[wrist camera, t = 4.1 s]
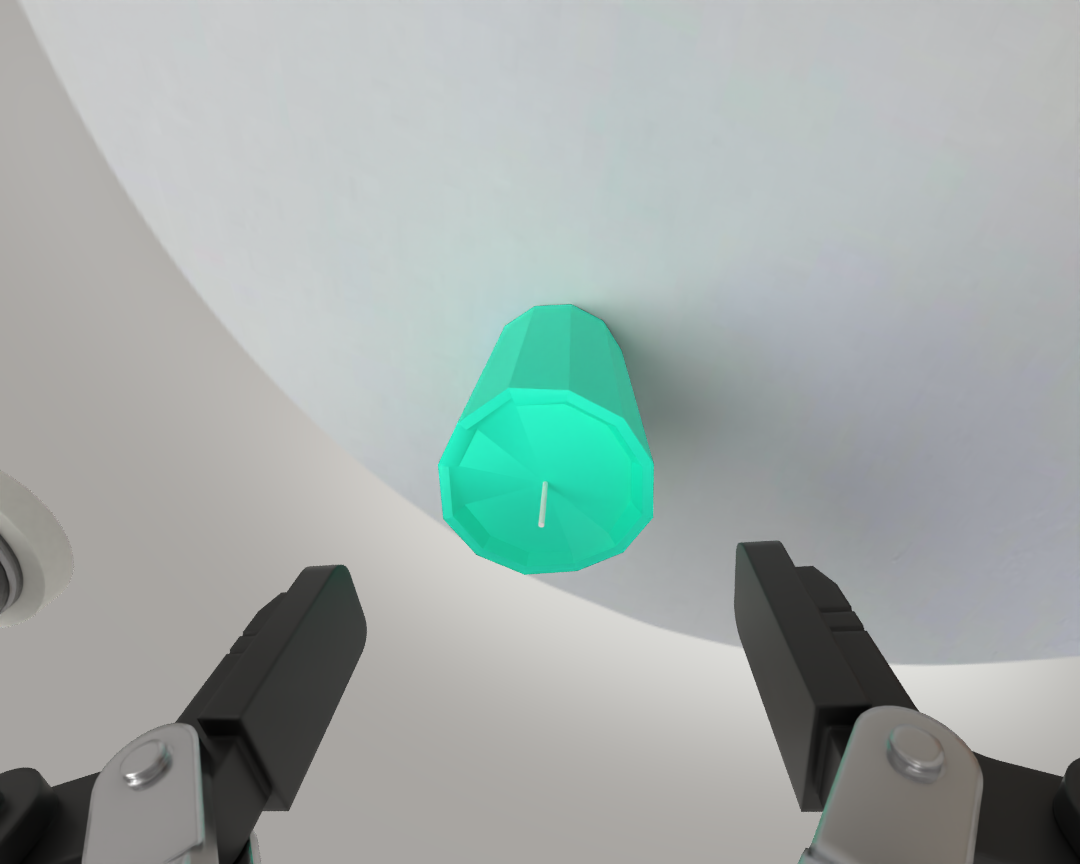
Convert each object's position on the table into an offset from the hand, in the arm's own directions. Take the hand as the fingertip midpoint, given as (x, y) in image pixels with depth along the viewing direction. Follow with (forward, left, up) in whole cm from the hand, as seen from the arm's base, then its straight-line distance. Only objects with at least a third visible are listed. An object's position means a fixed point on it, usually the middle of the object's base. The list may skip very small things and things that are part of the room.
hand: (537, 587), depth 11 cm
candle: (0, 0, -14) cm, 14 cm away
